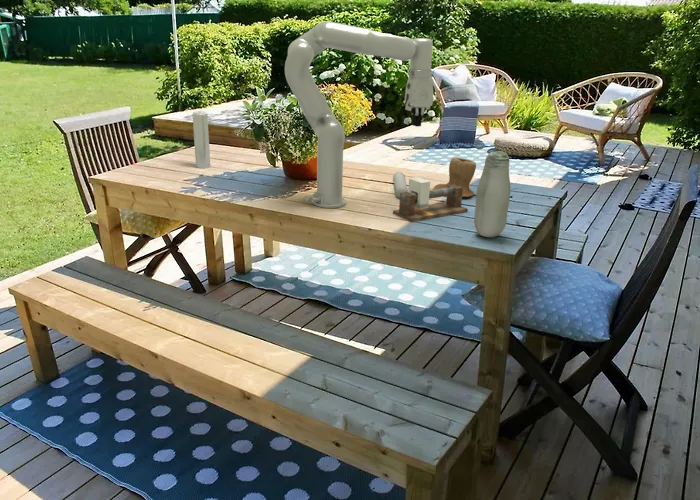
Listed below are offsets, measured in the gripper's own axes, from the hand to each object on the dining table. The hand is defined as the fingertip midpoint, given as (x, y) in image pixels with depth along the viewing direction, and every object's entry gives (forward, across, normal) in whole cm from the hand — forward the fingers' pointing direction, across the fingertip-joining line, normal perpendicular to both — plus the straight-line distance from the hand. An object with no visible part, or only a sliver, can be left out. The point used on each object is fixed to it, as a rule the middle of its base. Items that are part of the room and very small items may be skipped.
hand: (416, 125), depth 226 cm
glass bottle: (+29, -2, -44) cm, 53 cm away
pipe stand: (+29, -3, -15) cm, 33 cm away
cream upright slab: (+26, -9, -15) cm, 31 cm away
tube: (+30, +5, +15) cm, 33 cm away
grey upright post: (+29, -52, +90) cm, 108 cm away
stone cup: (+29, +22, 0) cm, 37 cm away
